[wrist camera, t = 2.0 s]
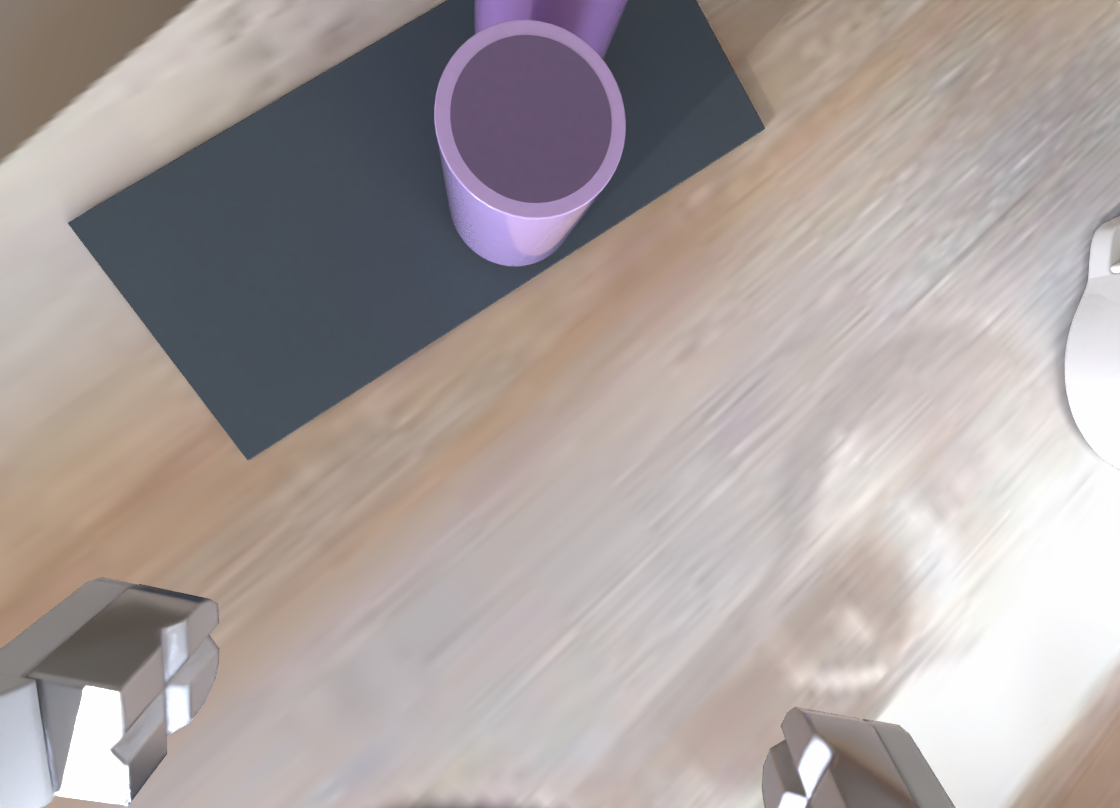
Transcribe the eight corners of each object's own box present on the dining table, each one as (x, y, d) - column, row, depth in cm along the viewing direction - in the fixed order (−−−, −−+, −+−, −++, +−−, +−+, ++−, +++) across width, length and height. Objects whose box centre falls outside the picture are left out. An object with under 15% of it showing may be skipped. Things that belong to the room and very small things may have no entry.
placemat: (634, -106, 28) (636, -111, 28) (762, 130, 30) (765, 128, 30) (72, 224, 26) (67, 222, 25) (249, 459, 27) (247, 460, 27)
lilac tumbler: (530, 115, 28) (560, -19, 18) (597, 226, 29) (661, 156, 19) (423, 181, 27) (394, 80, 17) (494, 292, 28) (505, 255, 18)
